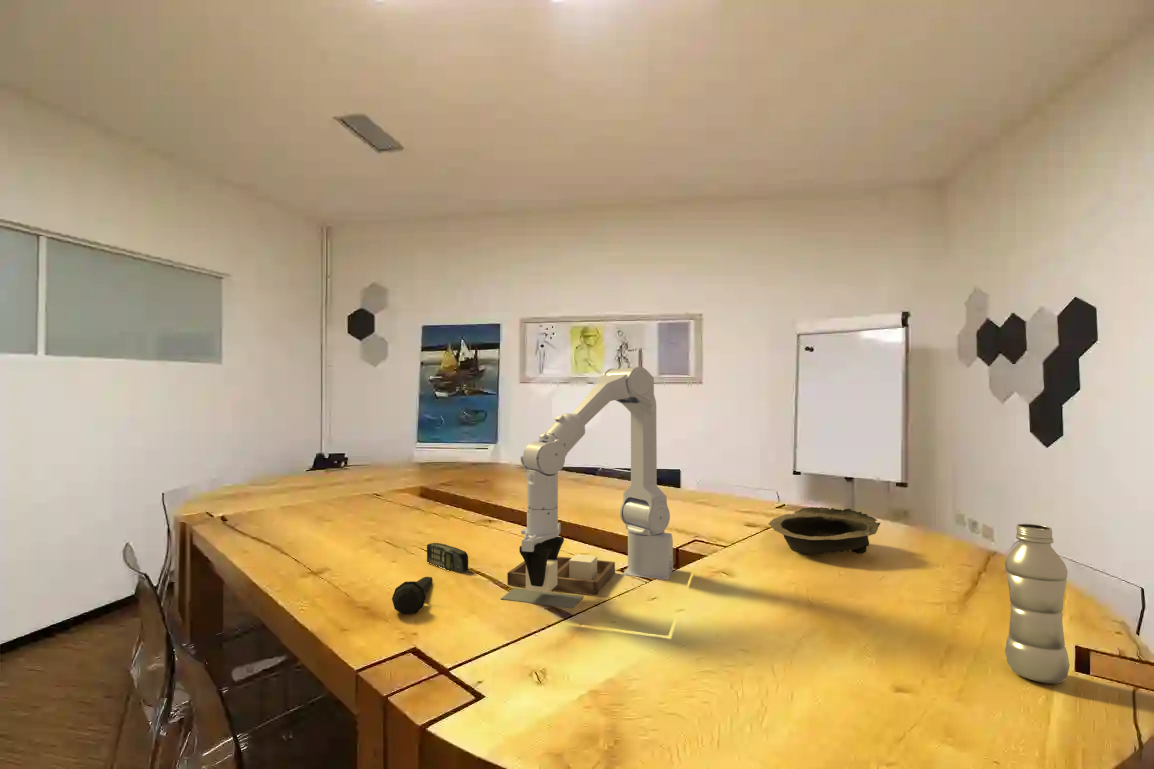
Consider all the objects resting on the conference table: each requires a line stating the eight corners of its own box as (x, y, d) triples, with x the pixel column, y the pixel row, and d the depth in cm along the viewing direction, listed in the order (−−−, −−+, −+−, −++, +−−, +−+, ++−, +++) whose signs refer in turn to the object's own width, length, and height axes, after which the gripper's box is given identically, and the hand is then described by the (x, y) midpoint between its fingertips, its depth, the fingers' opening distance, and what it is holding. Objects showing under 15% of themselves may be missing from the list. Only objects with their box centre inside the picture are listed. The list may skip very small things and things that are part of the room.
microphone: (421, 596, 112) (393, 624, 92) (413, 569, 113) (384, 590, 93) (447, 587, 112) (425, 613, 92) (439, 560, 113) (415, 579, 93)
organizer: (614, 575, 115) (614, 561, 115) (597, 597, 102) (597, 582, 102) (533, 566, 121) (533, 554, 121) (507, 587, 108) (507, 572, 108)
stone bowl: (883, 545, 138) (883, 509, 137) (876, 581, 117) (876, 538, 116) (781, 531, 151) (780, 497, 151) (758, 560, 130) (757, 522, 129)
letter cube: (557, 584, 102) (557, 559, 103) (548, 592, 98) (548, 566, 98) (535, 582, 104) (535, 557, 104) (525, 590, 100) (525, 564, 100)
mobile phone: (424, 543, 124) (464, 553, 114) (435, 540, 126) (476, 550, 116) (424, 565, 124) (464, 578, 114) (435, 562, 126) (476, 574, 116)
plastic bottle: (993, 667, 76) (990, 521, 76) (1038, 664, 76) (1035, 520, 77) (1035, 691, 69) (1032, 533, 70) (1084, 689, 70) (1081, 532, 70)
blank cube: (597, 578, 112) (597, 556, 112) (591, 585, 107) (590, 562, 108) (576, 576, 113) (576, 554, 113) (569, 583, 109) (569, 560, 109)
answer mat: (583, 599, 102) (583, 595, 102) (573, 611, 96) (573, 607, 96) (514, 590, 106) (514, 587, 106) (500, 601, 100) (500, 598, 100)
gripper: (537, 498, 109) (537, 567, 109) (505, 513, 96) (505, 591, 95) (570, 500, 107) (570, 570, 107) (543, 516, 93) (543, 596, 93)
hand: (542, 581), depth 101 cm, fingers closed on letter cube, 4 cm apart
